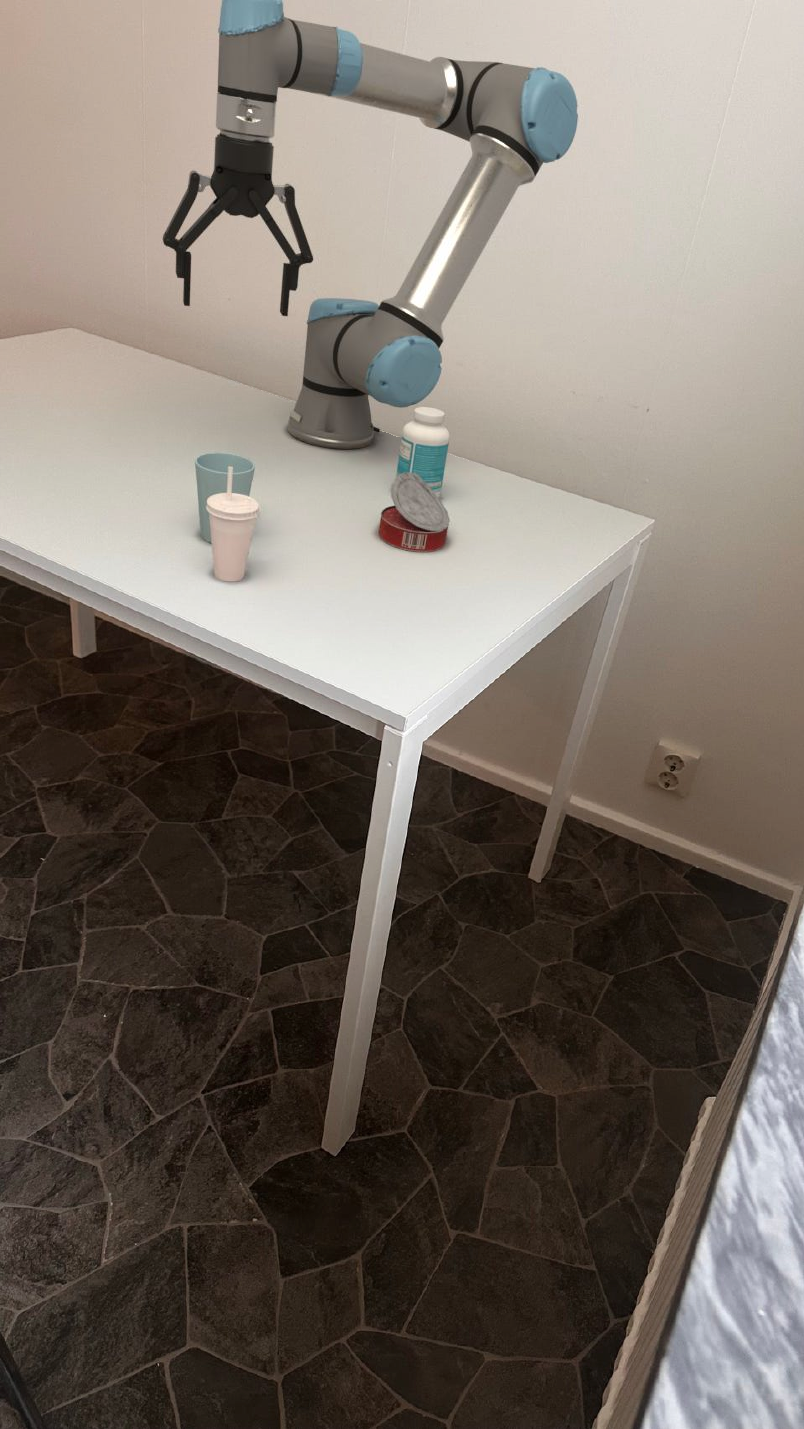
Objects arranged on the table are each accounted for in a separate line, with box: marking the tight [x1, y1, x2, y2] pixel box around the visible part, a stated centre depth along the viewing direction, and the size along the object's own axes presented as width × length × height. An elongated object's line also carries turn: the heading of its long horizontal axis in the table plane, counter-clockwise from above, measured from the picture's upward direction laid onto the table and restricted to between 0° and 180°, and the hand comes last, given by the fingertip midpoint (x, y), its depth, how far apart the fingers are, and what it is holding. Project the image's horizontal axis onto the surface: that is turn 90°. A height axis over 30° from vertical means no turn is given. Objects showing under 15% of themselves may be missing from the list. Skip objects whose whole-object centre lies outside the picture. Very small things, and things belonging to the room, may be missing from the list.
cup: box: [194, 451, 256, 544], centre depth 131 cm, size 8×8×10 cm
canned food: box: [377, 471, 451, 553], centre depth 142 cm, size 11×10×10 cm
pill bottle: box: [395, 406, 451, 499], centre depth 155 cm, size 8×7×14 cm
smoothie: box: [206, 467, 260, 583], centre depth 121 cm, size 6×6×14 cm
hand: (235, 309), depth 139 cm, fingers open, 13 cm apart
